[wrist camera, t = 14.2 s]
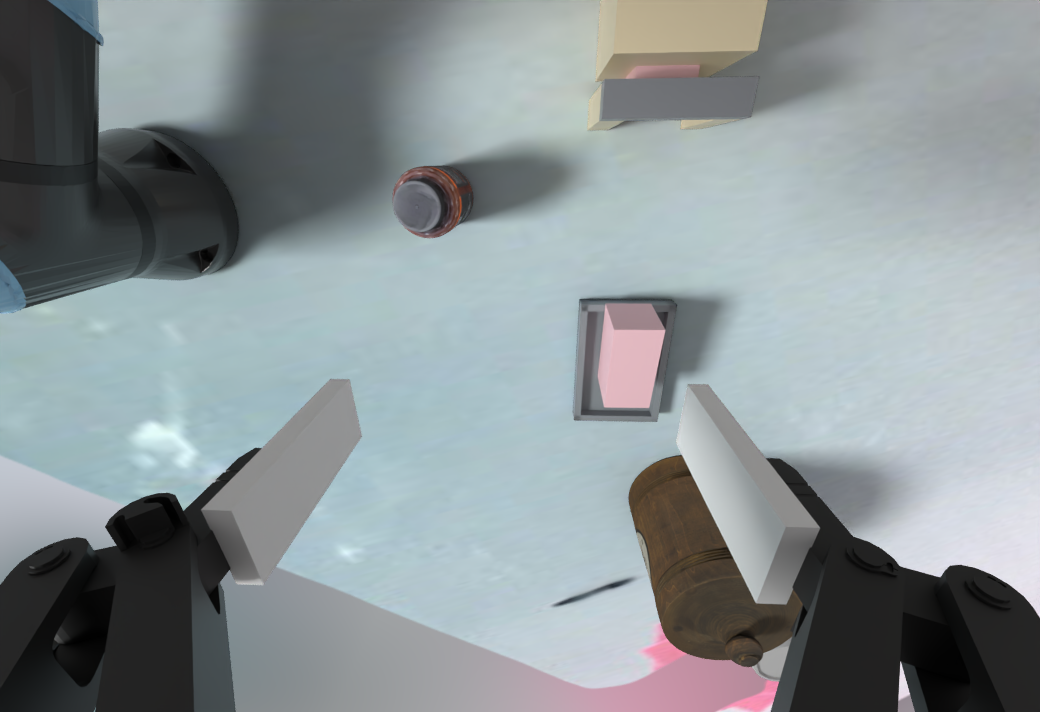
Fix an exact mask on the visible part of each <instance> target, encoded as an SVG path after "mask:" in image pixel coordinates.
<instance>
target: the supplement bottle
mask: <svg viewBox="0 0 1040 712" xmlns="http://www.w3.org/2000/svg"><path fill="white" fill-rule="evenodd" d="M472 205H473V192H472V188H471V186H470V183H469V182H468V180H467V179H466V177H465V176H464V175H463V174H462V173H461V172H459V171H458V170H456V169H454V168H451V167H448V166H423V167H416V168H413V169H411V170H408V171H407V172H405V173H404V174H403V175H402V176H401V177H400V178H399V179H398V181H397V183H396V184H395V187H394V190H393V209H394V212H395V215H396V217H397V219H398V220H399V222H400V223H401V224H402V225H403V226H404V227H405V228H406V229H407V230H408V231H410V232H411V233H413V234H415V235H417V236H419V237H423V238H435V237H440V236H442V235H444V234H446V233H447V232H449V231H451V230H452V229H453V228H454V227H456V226H457V225H459V224H460V223H461V222H463V221H464V220H465V219H466V218H467V216H468V215H469V213H470V211H471V208H472Z"/></svg>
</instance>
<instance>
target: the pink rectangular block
mask: <svg viewBox="0 0 1040 712" xmlns="http://www.w3.org/2000/svg"><path fill="white" fill-rule="evenodd" d="M664 334H665V328H664V326H663V325H662V323H661V321H660V319H659V317H658V315H657V314H656V312H655V310H654V308H653V306H652V304H627V303H606V304H605V313H604V323H603V332H602V341H601V350H600V359H599V368H598V380H599V385H600V390H601V395H602V400H603V404H604V407H609V408H649V406H650V402H651V397H652V392H653V387H654V382H655V378H656V373H657V368H658V363H659V358H660V354H661V349H662V344H663V339H664Z"/></svg>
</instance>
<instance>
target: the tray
mask: <svg viewBox="0 0 1040 712" xmlns="http://www.w3.org/2000/svg"><path fill="white" fill-rule="evenodd" d="M606 303H627V304H652V306H653V308H654V310H655V312H656V314H657V315H658V317H659V319H660V321H661V323H662V325H663V326H664V328H665V334H664V339H663V344H662V349H661V354H660V358H659V363H658V368H657V373H656V378H655V382H654V387H653V392H652V397H651V402H650V406H649V408H609V407H604V404H603V400H602V395H601V390H600V385H599V380H598V368H599V359H600V350H601V341H602V332H603V323H604V313H605V304H606ZM676 308H677V305H676V304H675V303H674V302H673V301H672V300H616V299H579V315H578V332H577V350H576V367H575V384H574V401H573V416H574V420H580V421H634V422H657V420H658V414H659V408H660V402H661V396H662V390H663V385H664V379H665V373H666V367H667V361H668V355H669V349H670V343H671V337H672V331H673V325H674V319H675V314H676Z"/></svg>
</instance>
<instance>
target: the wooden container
mask: <svg viewBox="0 0 1040 712" xmlns="http://www.w3.org/2000/svg"><path fill="white" fill-rule="evenodd" d="M629 505H630V509H631V513H632V517H633V521H634V525H635V530H636V534H637V537H638V541H639V545H640V548H641V551H642V555H643V558H644V561H645V565H646V568H647V571H648V575H649V579H650V582H651V586H652V589H653V593H654V596H655V602H656V607H657V611H658V615H659V619H660V622H661V626H662V629H663V632H664V634H665V636H666V638H667V639H668V640H669V642H670V643H671V644H673V645H674V646H675V647H676V648H678V649H679V650H681V651H683V652H685V653H687V654H690V655H693V656H696V657H700V658H705V659H712V660H732V661H734V662H735V663H737V664H739V665H741V666H744V667H752V666H755V665H757V664H758V662H759V661H760V660H761V659H762V658H763V653H765V652H768V651H770V650H772V649H774V648H776V647H778V646H780V645H781V644H783V643H784V642H786V641H787V640H788V639H790V638H791V637H792V635H793V632H791V631H790V630H791V628H792V626H793V624H794V622H795V620H796V617H797V615H798V613H799V611H800V609H801V607H802V605H803V604H802V602H801V601H800V599H799V597H798V596H797V594H796V593H795V591H794V589H793V591H792V593H791V595H790V597H789V600H788V602H787V604H759V603H756V602H755V600H754V598H753V596H752V594H751V592H750V590H749V588H748V586H747V584H746V582H745V580H744V578H743V576H742V574H741V572H740V570H739V568H738V566H737V564H736V562H735V560H734V558H733V556H732V554H731V552H730V550H729V548H728V546H727V544H726V542H725V540H724V538H723V536H722V534H721V532H720V530H719V528H718V526H717V524H716V522H715V520H714V518H713V516H712V514H711V512H710V510H709V508H708V506H707V504H706V502H705V500H704V498H703V496H702V494H701V492H700V490H699V488H698V486H697V484H696V482H695V480H694V478H693V476H692V474H691V472H690V470H689V468H688V466H687V464H686V462H685V460H684V458H683V456H676V457H670V458H666V459H663V460H661V461H658V462H656V463H654V464H652V465H651V466H649V467H648V468H646V469H645V470H644V471H642V472H641V473H640V474H639V475H638V476H637V478H636V479H635V481H634V482H633V484H632V486H631V488H630V492H629Z"/></svg>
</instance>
